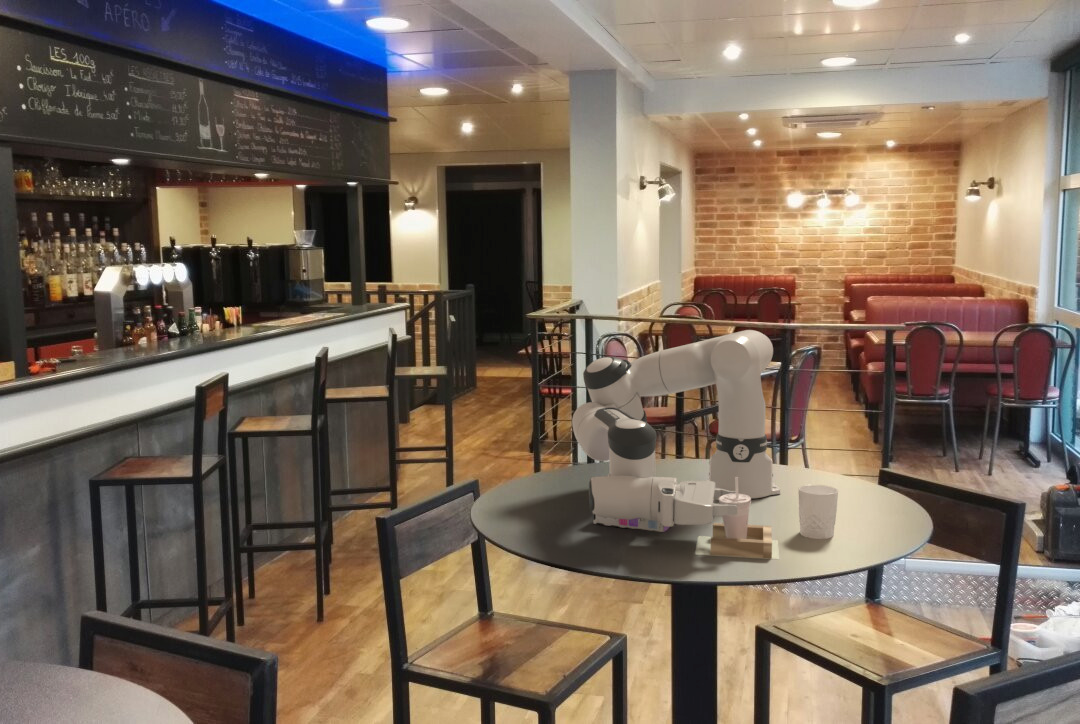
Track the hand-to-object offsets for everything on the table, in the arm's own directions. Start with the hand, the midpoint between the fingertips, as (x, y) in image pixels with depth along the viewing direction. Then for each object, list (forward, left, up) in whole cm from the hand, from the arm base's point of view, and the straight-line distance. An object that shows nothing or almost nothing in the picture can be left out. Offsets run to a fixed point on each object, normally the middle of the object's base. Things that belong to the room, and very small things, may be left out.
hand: (737, 502), depth 198 cm
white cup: (-12, +16, -10) cm, 22 cm away
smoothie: (-1, 0, -9) cm, 9 cm away
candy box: (-18, -29, -7) cm, 35 cm away
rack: (0, 0, -9) cm, 9 cm away
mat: (0, 0, -10) cm, 10 cm away
